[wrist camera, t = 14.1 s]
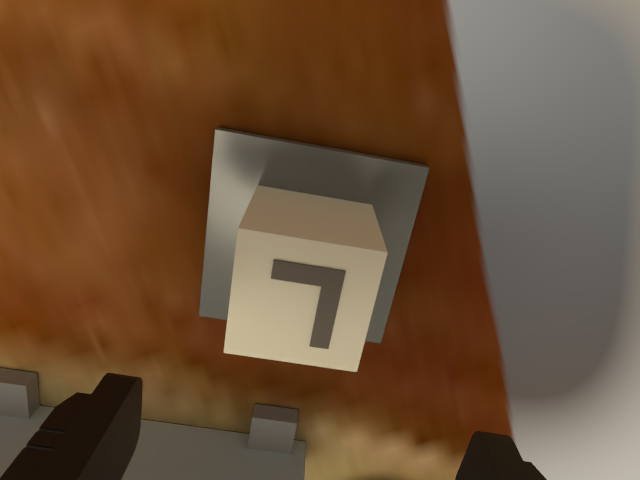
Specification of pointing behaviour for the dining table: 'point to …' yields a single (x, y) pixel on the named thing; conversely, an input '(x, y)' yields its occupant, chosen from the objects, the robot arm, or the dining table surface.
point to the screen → (169, 441)
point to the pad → (311, 178)
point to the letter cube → (304, 279)
